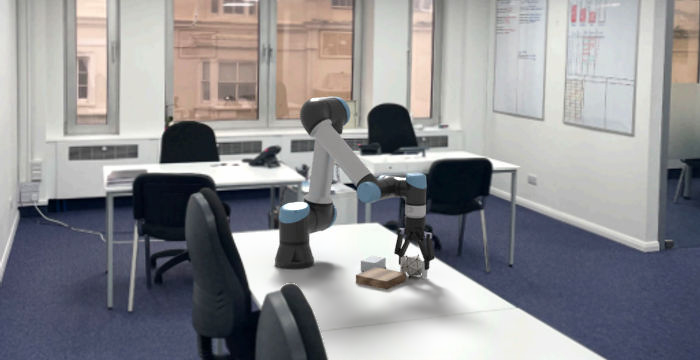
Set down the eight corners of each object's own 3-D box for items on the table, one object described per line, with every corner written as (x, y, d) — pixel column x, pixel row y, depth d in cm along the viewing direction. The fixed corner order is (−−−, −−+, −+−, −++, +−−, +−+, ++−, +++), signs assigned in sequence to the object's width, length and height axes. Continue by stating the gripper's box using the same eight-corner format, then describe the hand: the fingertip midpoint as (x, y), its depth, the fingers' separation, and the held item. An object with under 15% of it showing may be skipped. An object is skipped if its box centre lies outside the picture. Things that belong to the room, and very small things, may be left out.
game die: (417, 287, 299) (424, 270, 292) (396, 278, 300) (402, 261, 293) (424, 270, 305) (431, 254, 298) (403, 261, 306) (410, 244, 299)
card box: (360, 271, 307) (360, 260, 307) (371, 265, 315) (371, 255, 315) (374, 273, 305) (374, 263, 304) (385, 267, 312) (385, 257, 312)
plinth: (355, 283, 291) (355, 274, 290) (375, 274, 301) (375, 267, 301) (386, 289, 284) (386, 281, 283) (405, 281, 294) (405, 273, 294)
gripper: (385, 213, 299) (383, 273, 303) (435, 221, 287) (433, 283, 291) (395, 210, 305) (394, 268, 309) (445, 217, 293) (443, 278, 297)
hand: (413, 275), depth 300 cm, fingers closed on game die, 8 cm apart
